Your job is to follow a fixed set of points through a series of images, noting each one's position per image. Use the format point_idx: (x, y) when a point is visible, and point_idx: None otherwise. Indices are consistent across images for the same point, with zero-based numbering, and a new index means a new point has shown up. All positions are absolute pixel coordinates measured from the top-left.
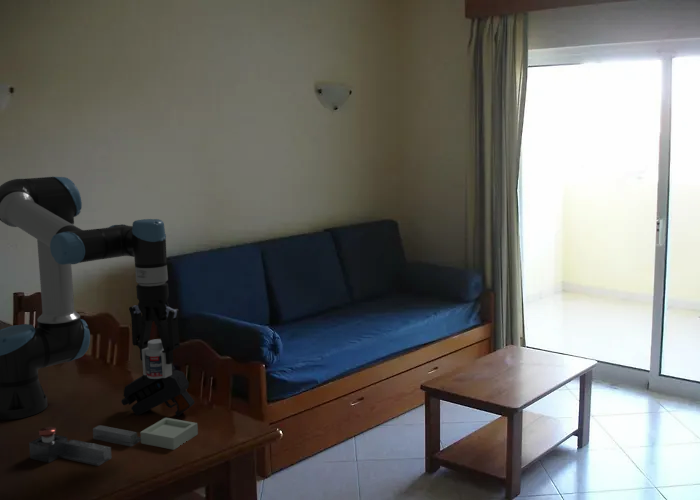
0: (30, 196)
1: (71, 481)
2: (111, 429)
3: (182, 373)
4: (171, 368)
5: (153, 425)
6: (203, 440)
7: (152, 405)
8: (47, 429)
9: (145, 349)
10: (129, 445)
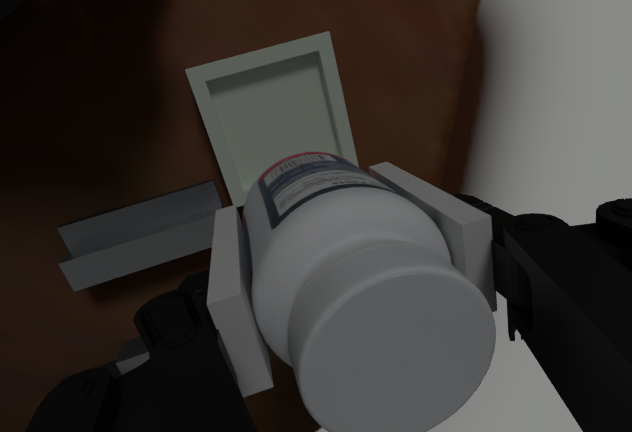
0: None
1: (290, 397)
2: (132, 254)
3: None
4: (404, 173)
5: (219, 147)
6: (369, 59)
7: (4, 10)
8: None
9: (266, 369)
10: None
